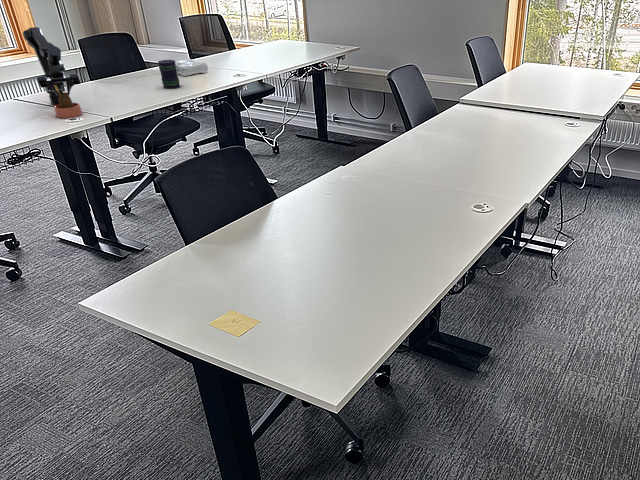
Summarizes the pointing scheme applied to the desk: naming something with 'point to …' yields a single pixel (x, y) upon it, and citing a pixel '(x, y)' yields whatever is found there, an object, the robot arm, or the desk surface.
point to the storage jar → (169, 74)
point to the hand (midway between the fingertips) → (63, 95)
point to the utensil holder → (64, 99)
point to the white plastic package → (190, 67)
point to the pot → (68, 111)
